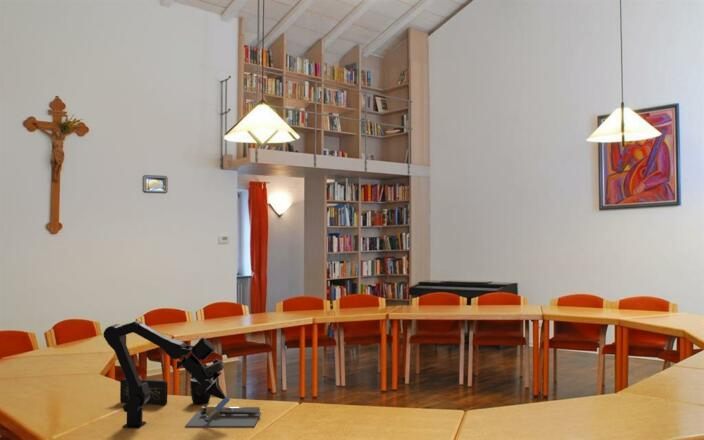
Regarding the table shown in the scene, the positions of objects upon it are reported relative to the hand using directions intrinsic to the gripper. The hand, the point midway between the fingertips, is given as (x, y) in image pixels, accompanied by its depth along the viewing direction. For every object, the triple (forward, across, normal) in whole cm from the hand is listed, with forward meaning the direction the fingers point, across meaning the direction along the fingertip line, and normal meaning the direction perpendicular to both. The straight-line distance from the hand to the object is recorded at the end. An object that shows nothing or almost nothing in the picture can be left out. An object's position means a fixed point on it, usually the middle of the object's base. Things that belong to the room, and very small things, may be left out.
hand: (224, 398), depth 235 cm
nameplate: (-21, +31, +37) cm, 52 cm away
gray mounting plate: (+6, +7, +8) cm, 13 cm away
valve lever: (+1, 0, +10) cm, 10 cm away
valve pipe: (+7, +7, +7) cm, 12 cm away
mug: (-4, +31, +19) cm, 36 cm away
